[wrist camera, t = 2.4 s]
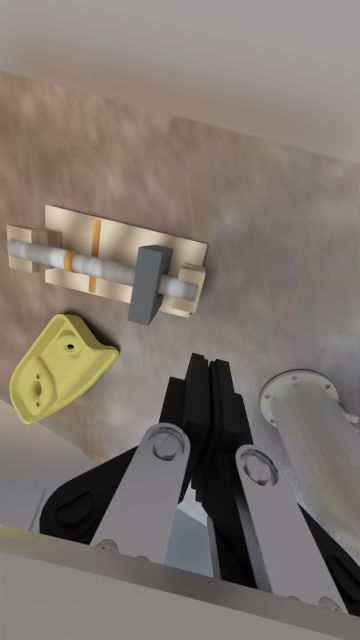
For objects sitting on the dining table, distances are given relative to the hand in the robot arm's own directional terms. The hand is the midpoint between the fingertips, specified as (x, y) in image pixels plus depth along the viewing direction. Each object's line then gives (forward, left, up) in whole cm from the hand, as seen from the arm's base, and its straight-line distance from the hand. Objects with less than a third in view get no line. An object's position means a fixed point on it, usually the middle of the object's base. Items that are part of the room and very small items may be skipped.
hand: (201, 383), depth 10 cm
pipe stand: (+12, 0, -25) cm, 28 cm away
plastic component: (+21, +20, -25) cm, 38 cm away
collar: (+6, 0, -22) cm, 22 cm away
